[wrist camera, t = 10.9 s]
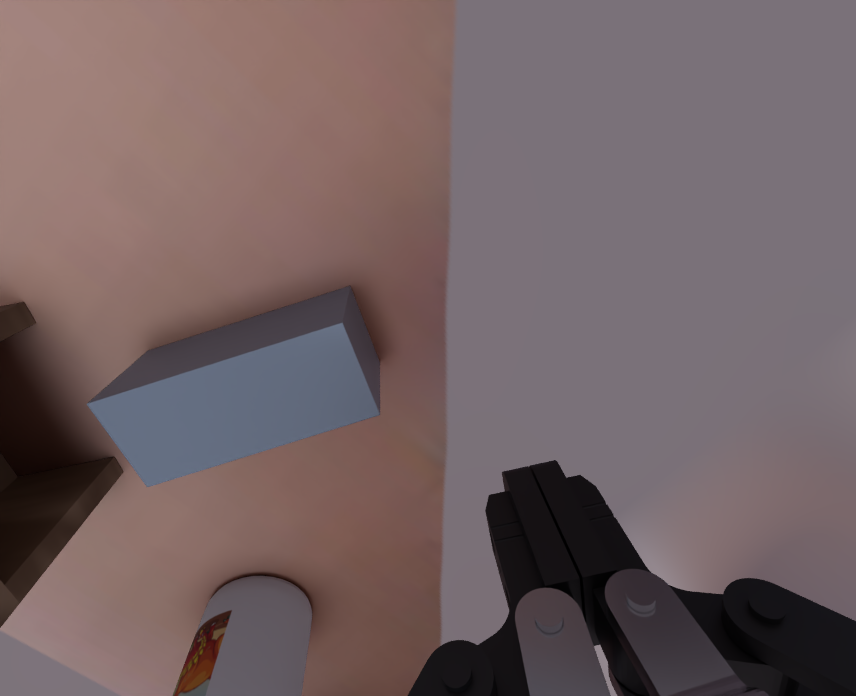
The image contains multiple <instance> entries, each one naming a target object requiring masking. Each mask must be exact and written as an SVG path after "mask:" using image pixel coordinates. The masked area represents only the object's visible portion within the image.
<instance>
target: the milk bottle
mask: <svg viewBox="0 0 856 696" xmlns="http://www.w3.org/2000/svg"><path fill="white" fill-rule="evenodd" d="M311 622H312V609H311V606H310V603H309V600H308V598H307V597H306V595H305V594H304V592H303V591H301V590H300V589H299V588H298V587H297V586H295V585H294V584H292V583H290V582H288V581H285V580H283V579H279V578H275V577H270V576H250V577H244V578H240V579H237V580H234V581H232V582H230V583H228V584H226V585H224V586H223V587H222V588H221V589H219V590H218V591H217V592H216V593H215V594H214V595H213V597H212V598H211V599H210V601H209V602H208V604H207V607H206V609H205V612H204V614H203V616H202V619H201V622H200V624H199V627H198V630H197V632H196V635H195V637H194V640H193V643H192V645H191V648H190V651H189V653H188V656H187V659H186V661H185V664H184V666H183V669H182V672H181V674H180V677H179V680H178V682H177V685H176V688H175V690H174V693H173V696H301V694H302V687H303V680H304V673H305V666H306V659H307V652H308V645H309V638H310V631H311Z"/></svg>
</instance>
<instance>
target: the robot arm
mask: <svg viewBox="0 0 856 696" xmlns="http://www.w3.org/2000/svg"><path fill="white" fill-rule="evenodd" d="M502 476H503V483H504V489H505V492H501V493H496V494H491V495H489V497H488V502H487V506H486V516H487V521H488V526H489V532H490V537H491V542H492V547H493V552H494V556H495V559H496V563H497V567H498V570H499V574H500V578H501V581H502V585H503V589H504V592H505V596H506V600H507V603H508V607H509V615H508V617H507V620H506V622H505V623H504V625H503V626H502V628H501V629H500V630H499V631H498V632H497V633H496V634H494V635H493V636H491V637H490V638H488V639H487V640H485V641H484V642H482V643H480V644H479V645H476V644H474V643H471V642H469V641H464V640H456V641H451V642H448V643H445V644H443V645H442V646H440V647H439V648H437V649H436V650H435V651H434V652H433V653H432V654H431V656H430V657H429V659H428V660H427V662H426V664H425V666H424V668H423V669H422V671H421V673H420V675H419V676H418V678H417V680H416V682H415V684H414V685H413V687H412V689H411V691H410V692H409V694H408V696H611V695H610V692H609V690H608V686H607V684H606V681H605V678H604V675H603V672H602V669H601V666H600V663H599V661H598V657H597V654H596V651H595V649H594V646H595V645H601V647H602V650H603V652H604V654H605V656H606V659H607V661H608V670H609V677H610V681H611V683H612V686H613V687H614V690H615V691H616V694H617V696H856V621H854V620H852V619H850V618H848V617H845V616H843V615H841V614H839V613H837V612H834V611H832V610H830V609H828V608H826V607H824V606H821V605H819V604H817V603H815V602H813V601H811V600H808V599H806V598H804V597H802V596H800V595H797V594H795V593H793V592H791V591H789V590H787V589H784V588H782V587H780V586H778V585H775V584H773V583H770V582H768V581H764V580H760V579H753V578H744V579H739V580H735V581H734V582H732V583H730V584H729V585H728V586H727V587H726V589H725V591H724V594H712V593H701V592H690V591H685V590H681V589H678V588H675V587H672V586H670V585H668V584H667V583H666V582H665V581H664V580H662V579H661V578H659V577H658V576H657V575H655V574H653V573H651V572H650V571H649V570H648V568H647V567H646V566H645V564H644V563H643V561H642V559H641V558H640V557H639V555H638V553H637V551H636V550H635V548H634V547H633V545H632V543H631V542H630V540H629V539H628V537H627V535H626V534H625V532H624V531H623V529H622V527H621V526H620V524H619V523H618V521H617V519H616V518H614V516H613V513H612V511H611V510H610V509H609V507H608V505H606V503H605V500H604V499H603V497H602V495H601V494H600V492H599V491H598V489H597V487H596V486H595V485H593V484H592V483H591V482H589V481H588V480H586V479H585V478H584V477H582V476H581V475H577V476H573V477H568V478H566V477H565V475H564V473H563V471H562V469H561V467H560V466H559V464H558V462H557V461H556V460H554V461H549V462H545V463H540V464H535V465H531V466H529V467H528V466H527V467H522V468H518V469H513V470H509V471H504V472H502Z"/></svg>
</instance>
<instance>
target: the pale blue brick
mask: <svg viewBox="0 0 856 696" xmlns="http://www.w3.org/2000/svg"><path fill="white" fill-rule="evenodd" d="M87 405H88V407H89V408H90V409H91V411H92V412H93V413H94V415H95V416H96V418H97V419H98V420H99V422H100V423H101V424H102V426H103V427H104V429H105V430H106V431H107V433H108V434H109V435H110V437H111V438H112V440H113V441H114V442H115V444H116V445H117V446H118V448H119V449H120V450H121V452H122V453H123V455H124V456H125V457H126V459H127V460H128V461H129V463H130V464H131V466H132V467H133V468H134V470H135V471H136V472H137V474H138V475H139V477H140V478H141V479H142V481H143V482H144V483H145V485H146V486H147V487H150V486H153V485H156V484H159V483H162V482H166V481H169V480H172V479H175V478H178V477H182V476H185V475H188V474H191V473H195V472H198V471H201V470H204V469H207V468H211V467H214V466H217V465H220V464H224V463H227V462H230V461H233V460H236V459H240V458H243V457H246V456H249V455H252V454H256V453H259V452H262V451H265V450H269V449H272V448H275V447H278V446H281V445H285V444H288V443H291V442H294V441H298V440H301V439H304V438H307V437H310V436H314V435H317V434H320V433H323V432H326V431H330V430H333V429H336V428H339V427H343V426H346V425H349V424H352V423H355V422H359V421H362V420H365V419H368V418H372V417H375V416H378V415H380V361H379V359H378V356H377V354H376V351H375V348H374V346H373V343H372V341H371V338H370V336H369V333H368V330H367V328H366V325H365V323H364V320H363V317H362V315H361V312H360V310H359V307H358V304H357V302H356V299H355V297H354V294H353V292H352V289H351V286H348V287H345V288H342V289H338V290H335V291H332V292H329V293H326V294H323V295H320V296H317V297H313V298H310V299H307V300H304V301H301V302H298V303H295V304H292V305H288V306H285V307H282V308H279V309H276V310H273V311H270V312H267V313H264V314H260V315H257V316H254V317H251V318H248V319H245V320H242V321H239V322H235V323H232V324H229V325H226V326H223V327H220V328H217V329H214V330H211V331H207V332H204V333H201V334H198V335H195V336H192V337H189V338H186V339H182V340H179V341H176V342H173V343H170V344H167V345H164V346H161V347H157V348H154V349H151V350H148V351H147V352H145V353H144V354H143V355H142V356H141V357H140V358H139V359H137V360H136V361H135V362H134V363H133V364H132V365H131V366H129V367H128V368H127V369H126V370H125V371H124V372H123V373H121V374H120V375H119V376H118V377H117V378H116V379H115V380H113V381H112V382H111V383H110V384H109V385H108V386H107V387H105V388H104V389H103V390H102V391H101V392H100V393H99V394H97V395H96V396H95V397H94V398H93V399H92V400H91V401H89V402H88V403H87Z"/></svg>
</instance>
